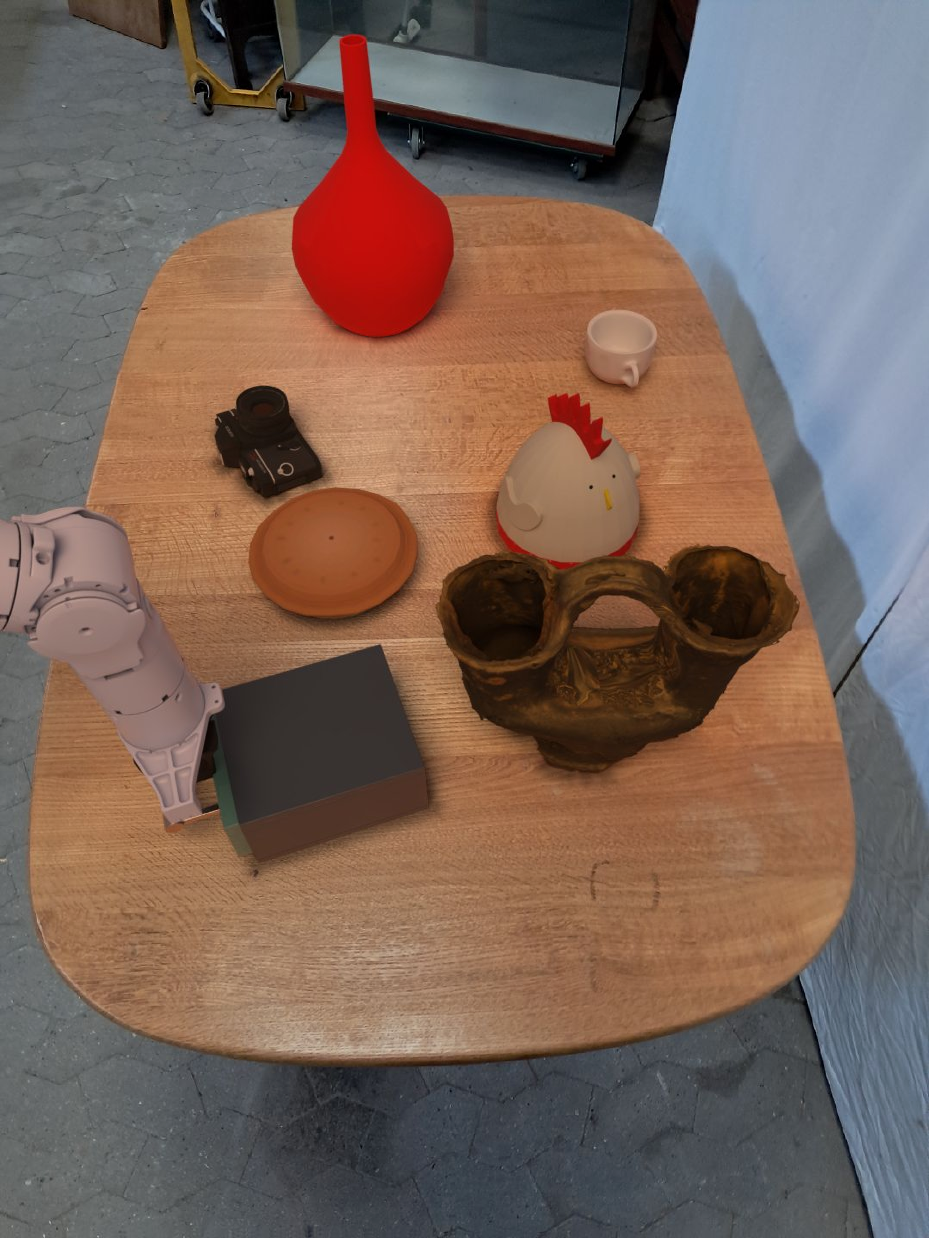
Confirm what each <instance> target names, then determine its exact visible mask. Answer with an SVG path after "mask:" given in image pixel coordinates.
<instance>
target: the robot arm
mask: <svg viewBox="0 0 929 1238" xmlns="http://www.w3.org/2000/svg"><path fill="white" fill-rule="evenodd" d="M0 632H1V633H3V632H4V633H16V634H25V635H29V639H30V640H28V641H27V646H28V647H29V648H30V649H32V650H33V651H34V652H36V653H37V654H39V655H41V656H43V657H45V658H47V659H51V660H53V661H58V662H63V663H66V664H68V666H69V667H70V668H71V669H72V671H73V672H74V674H75V675H76V676H77V677H78V678H79V680H80V681H81V683H82V684H83V685H84V686H85V689H86V690H87V691H88V692H89V693H90V695H91V696H92V698H93V699H94V700H95V701H96V703H97V704H98V705H99V707H100V708H101V710H102V711H103V712H104V714H105V715H106V716H107V718H108V720H110V722H111V723H112V725H113V726H114V727H115V730H116V733H117V735H118V738H119V739H120V742H122V744H123V745H124V746H125V748H126V750H127V752H128V753H129V754H130V755H131V757H132V761H133V764H134V766H135V767H136V768H137V770H138V771H140V773H142V774H143V775H144V777H145V778H146V780H147V781H148V782H149V784H150V785H151V787H152V789H153V791H154V793H155V794H156V796H157V799H158V802H159V806H160V811H161V814H162V813H163V814H164V815H165V817H166V818H167V819H168V820H169V822H170V823H171V824H174V823H177V822H180V821H184V820H187V819H190V818H192V817H195V816H198V815H201V814H202V810H201V808H202V805H201V801H200V800H199V798H198V797H197V795H196V788H197V787H196V786H197V784H198V783H201V782H203V781H204V782H205V781H207V780H211V779H213V774H215V773H216V766H215V761H214V756H213V755H214V753H215V752H216V751H217V749H218V735H217V730H216V726H215V721H214V720H211V718H212V715H213V714H214V713H217V712H220V711H221V710H223V708H224V707H225V702H224V697H223V693H222V688H221V685H220V684H219V683H218V682H215V681H211V682H208V683H201V682H200V681H199V680H198V678H197V677H196V676H195V675H194V673H193V672H192V670H191V669H190V667H189V665H188V664H187V663H188V662H187V661H186V659H185V658H184V656H183V654H182V653H181V650H180V649H179V647H178V645H177V643H176V642H175V640H174V638H173V636H172V634H171V632H170V630H169V629H168V627H167V625H166V624H165V622H164V620H163V618H162V616H161V613H159V611H158V609H157V608H156V607H155V605H154V604H153V603H152V601H151V599H149V596H148V594H147V593H146V591H145V589H144V587H143V585H142V584H141V582H140V580H139V578H137V574H136V568H135V563H134V557H133V551H132V545H131V543H130V541H129V537H128V534H127V532H126V530H125V529H124V527H123V526H122V525H121V524H120V523H119V522H118V521H117V520H115V519H114V518H112V517H111V516H108V515H106V514H104V513H102V512H98V511H95V510H90V509H88V508H86V507H83V506H65V507H59V508H55V509H51V510H48V511H45V512H43V513H38V514H26V513H21V514H20V515H19V516H17V515H12V517H11V518H10V520H9V519H3V518H0Z"/></svg>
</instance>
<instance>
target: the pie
mask: <svg viewBox="0 0 929 1238" xmlns="http://www.w3.org/2000/svg"><path fill="white" fill-rule="evenodd" d="M418 556H419V543H418V534H417V531H416V530H415V528H414V525H413V523H412V521H411V519H410V518H409V516H408V515H407V514H406V512H405V511H404V509H402V507H401V506H400V505H399V503H397V502H395V501H394V500H391V499H389V498H387V497H386V496H384V495H382V494H380V493H377V492H376V493H375V492H372V491H368V490H364V489H360V488H354V487H353V488H351V487H337V486H334V487H327V488H322V489H321V488H320V489H314V490H310V491H307V492H305V493H303V494H300V495H297V496H294V497H292V498H290V499H288V500H287V501H286V502H284V503H283V504H281V505H280V506H278V507H277V508H276V509H275V510H273V511H272V512H270V514H269V515H267V517H266V518H265V519H263V521H262V522H261V523H260V524H259V525H258V526H257V527H256V530H255V532H254V534H253V537H252V538H251V541H250V542H249V551H248V567H249V570H250V575H251V578H252V581H253V582H254V584H255V585H256V586H257V587H258V588H259V590H260V591H261V592H262V593H263V595H264V596H265V597H267V598H268V599H269V600H270V601H272V602H273V603H275V604H276V605H277V606H279V607H281V609H283V610H286V611H289V612H292V613H296V614H299V615H303V616H305V617H314V618H316V619H322V620H340V619H347V618H353V617H356V616H358V615H361V614H363V613H366V612H368V611H370V610H372V609H373V608H375V607H377V606H379V605H381V604H382V603H383V602H385V601H387V599H388V598H390V597H391V596H393V595H394V594H395V593H398V591H399V590H400V589H401V588H402V587H403V586H404V584H405V583H406V581H407V580H408V579H409V577H410V576H411V575H412V574H413V572H414V569H415V566H416V563H417V559H418Z"/></svg>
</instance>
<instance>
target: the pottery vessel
mask: <svg viewBox="0 0 929 1238" xmlns="http://www.w3.org/2000/svg"><path fill="white" fill-rule="evenodd" d="M666 562H667V565H663V566H662V567H660V566H659V565H658V564H657V565H656V564H655V562H654V561H653V560H649V559H648V560H647V559H642V558H641V559H640V558H637V557H636V556H632V555H622V556H606V555H604V556H601V557H595V558H592V559H589V560H586V561H584V562H582V563H580V564H578V565H576V566H574V567H571V568H567V569H561V570H560V569H559V568H557V567H556V566H554V565H552V564H551V563H550V562H549V563H548V561H547V560H546V559H542V558H538V557H535V556H531V555H528V554H523V553H516V552H512V551H507V550H501V551H500V552H495V553H494V554H482V555H479V556H478V557H476V558H473V559H472V560H470V561H469V562H468V563H467V564H464V565H460V566H459V565H458V566H457V567H456V568H455V569H454V570H452V571H450V572H448V573H447V574H446V576H444V578H443V579H442V580H441V582H442V587H441V594H440V596H439V601H438V602H437V603H435V604H434V606H435V610H436V615H437V618H438V620H439V622H440V624H441V628H442V633H441V634H442V636H443V638H444V641H445V645H446V646H447V648H449V650H450V652H451V653H452V654H453V656H454V657H455V658H456V661H458V662H457V663H458V666H459V669H460V670H461V681H462V684H463V687H464V689H465V691H466V694H467V696H468V699H469V702H470V705H471V709H472V710H473V711H474V712H476V714H477V715H478V717H479V719H480V721H485V720H487V721H488V722H490V723H492V724H494V725H496V726H497V727H501V728H503V729H504V730H509V731H511V732H514V733H518V734H522V735H526V736H531V737H532V738H534V740H535V741H536V743H537V746H538V747H537V749H536V750H537V751H538V752H539V753H540V755H542V757H543V758H544V760H545V762H546V763H547V764H548V765H549V766H551V767H553V768H556V769H564V770H566V771H570V772H574V771H575V770H577V771H579V773H593V774H594V773H595V774H597V773H598V774H599V773H603V772H604V771H606V770H607V769H608V768H610V767H611V766H614V765H615V764H617V763H619V762H621V761H622V760H624V759H627V758H632V757H634V756H635V755H638V753H639V752H640V751H642V750H643V749H644V748H646V746H647V745H648V744H650V743H662V742H665V741H668V740H673V739H677V738H679V736H680V735H682V734H686V733H689V732H691V731H692V730H694V729H696V728H697V727H700V726H701V725H702V724H703V723H704V719H705V718H706V717H707V716H709V714H710V712H711V711H713V710H716V708H715V707H716V704H717V702H718V701H719V699H720V697H722V695H724V694H725V692H726V691H727V687H728V686H729V684H730V682H731V681H732V680H733V679H734V677H735V676H736V674H737V673H738V670H739V669H740V667H742V666H744V665H745V664H747V663H748V662H750V661H751V660H752V659H753V658H755V656H756V655H757V654H758V653H759V652H760V650H761V649H763V648H767V647H770V646H774V645H776V644H779V643H780V642H781V640H780V639H782V638H783V637H784V636H785V635H786V634H787V633H788V632H792V629H793V623H794V621H795V618H796V617H797V616H798V613H799V611H800V604H801V603H800V600H799V598H798V597H797V594H794V592H793V591H792V590H791V589H790V588H789V586H788V585H787V582H786V576H787V574H784V573H779V572H778V571H777V570H776V569H775V568H774V567H773V566H772V565H771V564H770V562H768V561H766V560H765V561H764V560H762V559H760V558H757V557H756V556H754V555H753V554H751V553H748V552H745V551H742V550H741V549H739V548H738V547H734V546H729V545H710V544H706V545H700V543H698V544H695V545H689V546H685V547H682V548H681V549H680V550H679V551H677V552H676V553H673V554H672V555H670V556H669V559H667V560H666ZM603 596H613V597H615V596H617V597H620V596H621V597H627V598H630V599H631V600H635V601H638V602H640V603H642V604H643V605H645V606H646V607H647V608H649V609H650V611H652V612H653V614H654V615H655V616H656V617H657V618H659V620H658V625H650V626H641V627H628V628H627V627H624V628H623V627H621V628H619V627H616V628H612V627H608V628H604V627H587V626H586V627H585V626H574V625H575V623H576V622H577V621H578V619H579V617H580V615H581V614H583V613H584V612H586V611H587V610H589V608H591V607H592V606H593V605H594V604H595V602H596V601H597V600H598V599H599V598H601V597H603ZM797 601H798V602H797ZM484 719H485V720H484Z"/></svg>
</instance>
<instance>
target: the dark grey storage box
mask: <svg viewBox="0 0 929 1238" xmlns="http://www.w3.org/2000/svg"><path fill="white" fill-rule="evenodd" d="M221 689H222V688H221ZM222 693H223V697H224V702H225V707H224V708H223V710H221V711H220V712H217V713H215V714H216V719H217V724H218V729H219V734H220V738H221V743H222V748H223V753H224V757H225V762H226V767H227V772H228V776H229V781H230V786H231V791H232V795H233V800H234V805H235V810H236V814H237V819H238V824H239V827H240V829H241V831H242V833H243V835H244V837H245V838H246V840H247V842H248V844H249V846H250V848H251V850H252V852H253V853H252V854H253V856H254V858H255V859H256V862H257V863H258V864H262V863H266V862H268V861H271V860H275V859H278V858H281V857H284V856H287V855H290V854H293V853H296V852H299V851H303V850H306V849H309V848H313V847H314V846H319V845H321V844H324V843H327V842H330V841H333V840H336V839H339V838H342V837H346V836H348V835H349V836H350V835H351V834H356V833H359V832H361V831H364V830H367V829H370V828H373V827H377V826H380V825H382V824H383V825H384V824H386V823H389V822H392V821H395V820H398V819H402V818H405V817H408V816H410V815H413V814H416V813H420V812H422V811H426V810H429V808H430V806H429V797H428V787H427V778H426V777H427V776H426V767H425V764H424V761H423V758H422V756H421V753H420V750H419V748H418V744H417V741H416V739H415V736H414V733H413V731H412V728H411V725H410V722H409V720H408V719H409V718H408V717H407V714H406V711H405V708H404V706H403V703H402V699H401V697H400V694H399V691H398V689H397V686H396V683H395V681H394V677H393V674H392V672H391V669H390V666H389V663H388V660H387V658H386V655H385V652H384V648H383V647H382V644H381V643H378V644H375V645H373V646H369V647H365V648H362V649H358V650H355V651H352V652H348V653H344V654H341V655H337V656H334V657H331V658H330V657H329V658H327V659H324V660H323V659H322V660H320V661H316V662H313V663H309V664H306V665H302V666H298V667H295V668H293V669H289V670H285V671H281V672H277V673H275V674H271V675H267V676H264V677H261V678H257V679H254V680H249V681H246V682H244V683H240V684H235V685H233V686H232V685H231V686H229V687H226V688H225V687H224V688H223V689H222Z"/></svg>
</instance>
